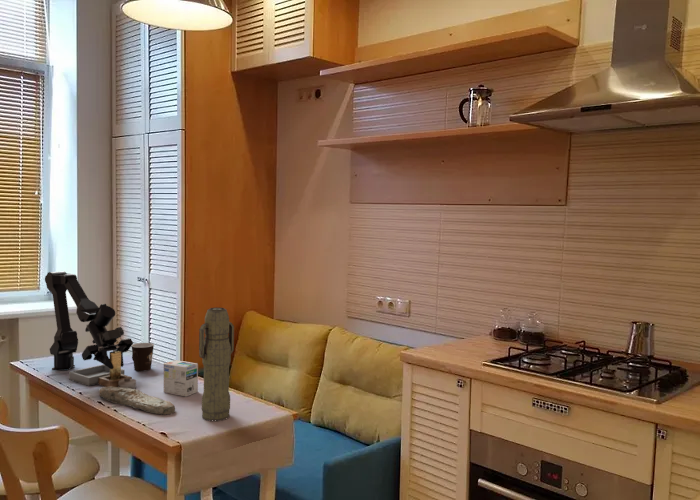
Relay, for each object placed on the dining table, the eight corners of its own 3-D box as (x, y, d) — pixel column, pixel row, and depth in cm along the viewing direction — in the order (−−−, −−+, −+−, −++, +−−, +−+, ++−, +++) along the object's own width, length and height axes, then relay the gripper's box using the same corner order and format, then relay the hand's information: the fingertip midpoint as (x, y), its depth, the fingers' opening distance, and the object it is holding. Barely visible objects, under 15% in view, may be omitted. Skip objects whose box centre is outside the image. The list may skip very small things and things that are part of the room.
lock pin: (107, 385, 230) (107, 353, 229) (112, 382, 234) (112, 350, 233) (118, 385, 229) (118, 353, 229) (122, 382, 233) (122, 351, 233)
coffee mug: (145, 365, 259) (145, 341, 258) (158, 369, 254) (158, 344, 253) (120, 370, 250) (120, 346, 249) (133, 374, 245) (133, 349, 244)
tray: (69, 379, 236) (69, 371, 235) (104, 371, 248) (104, 364, 248) (89, 385, 228) (89, 377, 228) (124, 377, 241) (124, 369, 240)
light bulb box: (198, 392, 225) (198, 362, 224) (186, 397, 218) (186, 367, 218) (175, 387, 229) (175, 359, 228) (162, 392, 223) (162, 363, 222)
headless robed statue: (239, 415, 201) (240, 308, 199) (210, 424, 192) (211, 312, 190) (221, 409, 207) (222, 305, 204) (192, 417, 198) (193, 309, 195)
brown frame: (98, 384, 231) (98, 375, 230) (118, 379, 237) (118, 371, 237) (122, 391, 222) (122, 383, 222) (142, 386, 229) (142, 378, 229)
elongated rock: (158, 423, 196) (182, 416, 205) (160, 406, 196) (183, 400, 205) (89, 397, 215) (113, 391, 223) (90, 382, 214) (115, 377, 223)
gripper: (86, 324, 225) (104, 359, 219) (130, 317, 240) (148, 350, 234) (73, 342, 230) (91, 377, 224) (117, 334, 245) (135, 367, 239)
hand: (117, 367), depth 230 cm, fingers closed on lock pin, 4 cm apart
